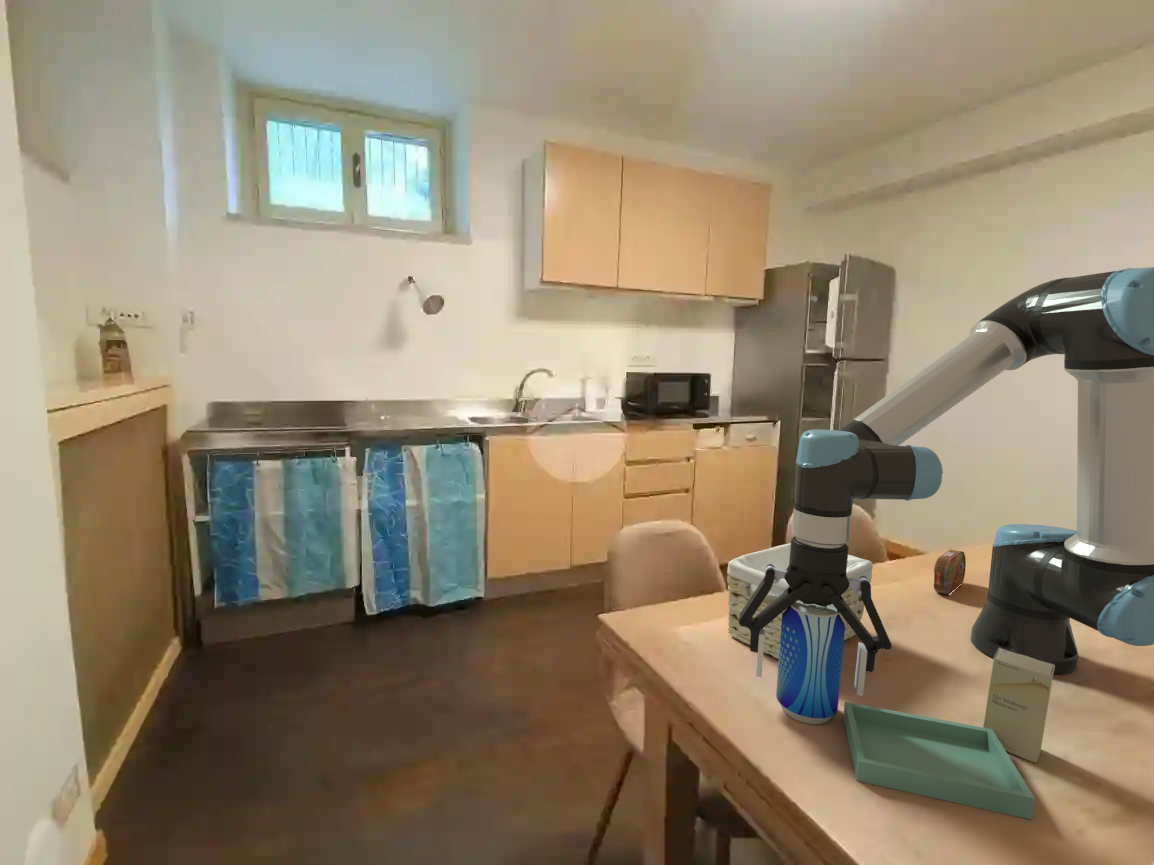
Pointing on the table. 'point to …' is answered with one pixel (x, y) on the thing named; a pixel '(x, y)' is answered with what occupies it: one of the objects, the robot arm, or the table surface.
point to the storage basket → (778, 592)
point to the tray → (935, 759)
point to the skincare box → (1019, 702)
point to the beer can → (810, 662)
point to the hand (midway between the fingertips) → (807, 681)
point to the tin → (949, 571)
